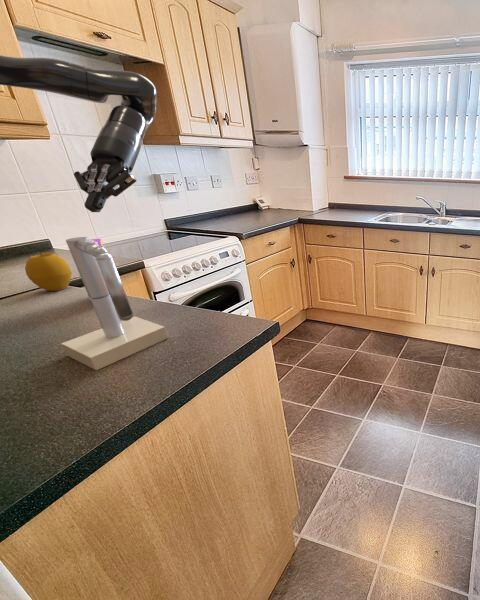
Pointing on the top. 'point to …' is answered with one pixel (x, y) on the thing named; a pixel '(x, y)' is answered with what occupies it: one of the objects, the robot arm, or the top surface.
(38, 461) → the top surface
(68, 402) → the top surface
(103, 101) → the robot arm
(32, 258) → the yellow fruit
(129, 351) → the tap stand
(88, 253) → the spout
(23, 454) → the top surface
